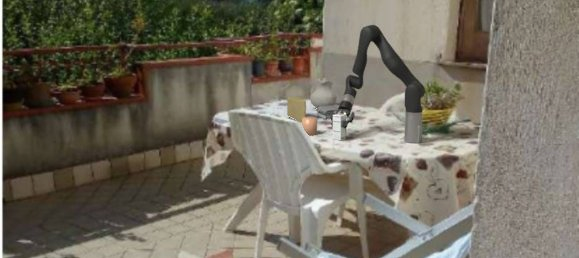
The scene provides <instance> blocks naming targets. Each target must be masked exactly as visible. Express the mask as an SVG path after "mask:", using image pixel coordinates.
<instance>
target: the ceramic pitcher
mask: <svg viewBox="0 0 579 258" xmlns="http://www.w3.org/2000/svg"><path fill="white" fill-rule="evenodd" d="M313 82H314V85H315V90H314V91H313V92H311V94H310V98H309V99H310V103H311V105H312V106H314V107H315V109H316V108H318V107H321V106H333V105H336V102H337V95H336V94H335V92H334V91H333V90H332V85H333V83H334V81H333V80H331V79H327V77H326V75H322V79H321V78H317V79H315V80H314V81H313Z"/></svg>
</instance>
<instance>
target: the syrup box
mask: <svg viewBox="0 0 579 258" xmlns="http://www.w3.org/2000/svg"><path fill="white" fill-rule="evenodd" d="M345 121H346V114H335V115H333V127H332V139H333V140H335V141H342V140H347V127H346V128H344V123H345Z"/></svg>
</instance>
